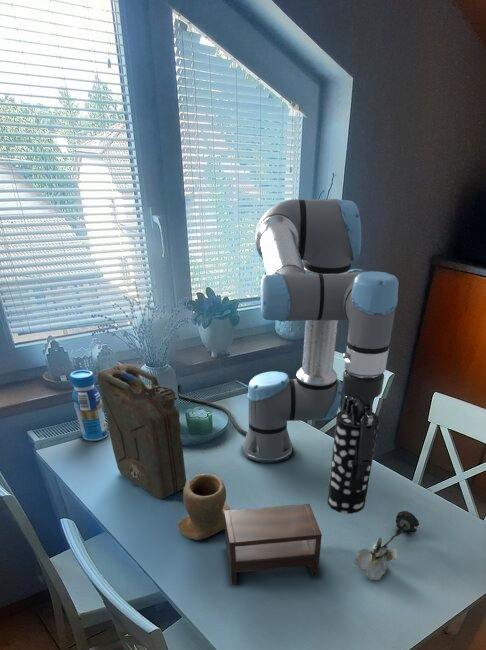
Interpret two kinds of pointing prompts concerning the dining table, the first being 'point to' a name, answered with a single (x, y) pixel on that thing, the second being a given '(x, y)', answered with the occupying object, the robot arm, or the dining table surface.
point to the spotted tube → (346, 466)
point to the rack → (272, 539)
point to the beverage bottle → (88, 406)
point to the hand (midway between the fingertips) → (349, 478)
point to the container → (143, 429)
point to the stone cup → (204, 507)
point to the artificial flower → (384, 548)
